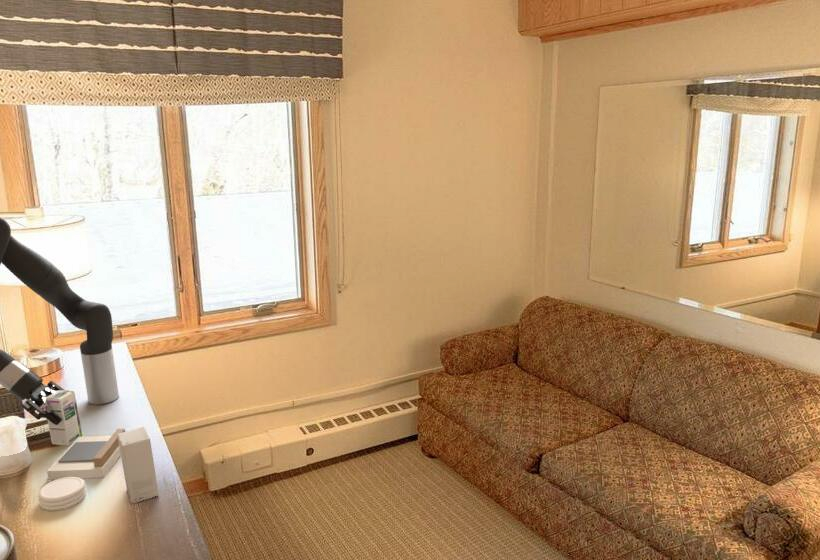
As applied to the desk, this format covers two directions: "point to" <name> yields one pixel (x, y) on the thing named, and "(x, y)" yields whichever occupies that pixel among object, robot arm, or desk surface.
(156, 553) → the desk surface
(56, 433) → the syrup box
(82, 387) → the desk surface
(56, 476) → the display plinth
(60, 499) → the coaster
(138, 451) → the skincare box
